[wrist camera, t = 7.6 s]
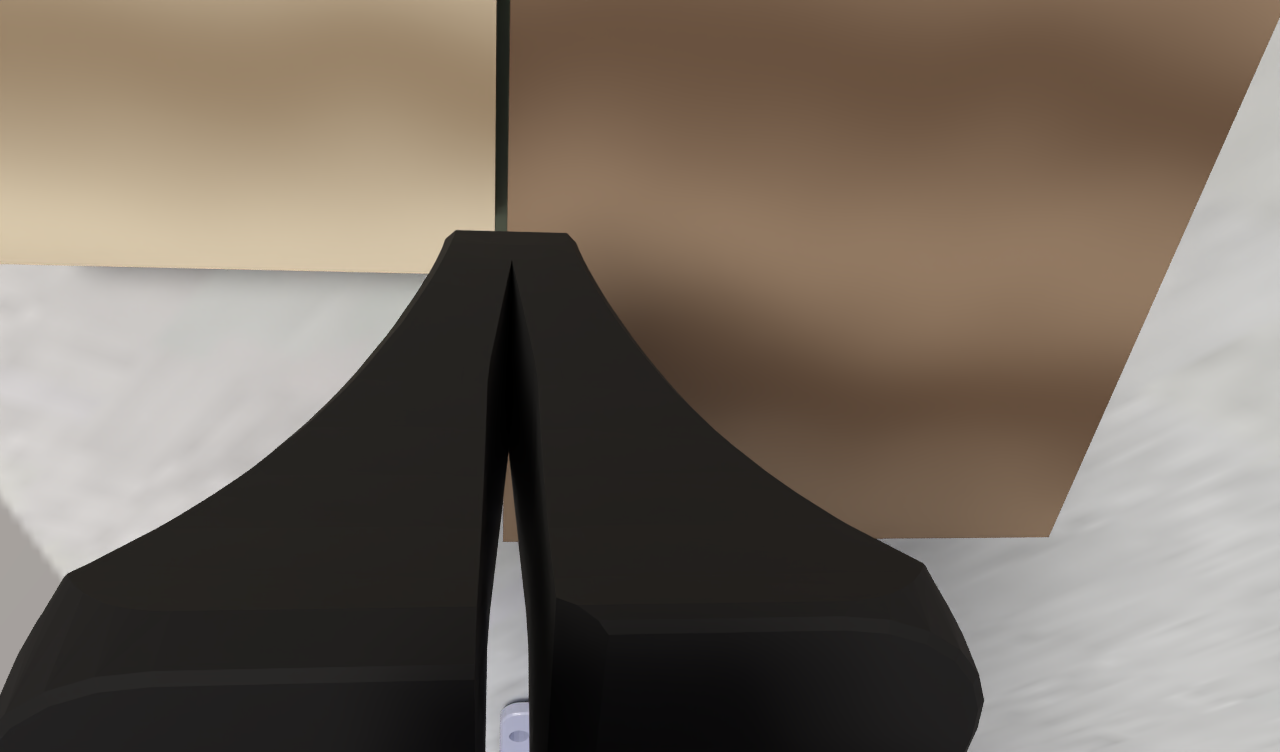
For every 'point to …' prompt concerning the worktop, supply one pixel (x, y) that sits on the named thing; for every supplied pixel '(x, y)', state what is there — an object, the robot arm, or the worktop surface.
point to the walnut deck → (881, 221)
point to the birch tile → (245, 132)
